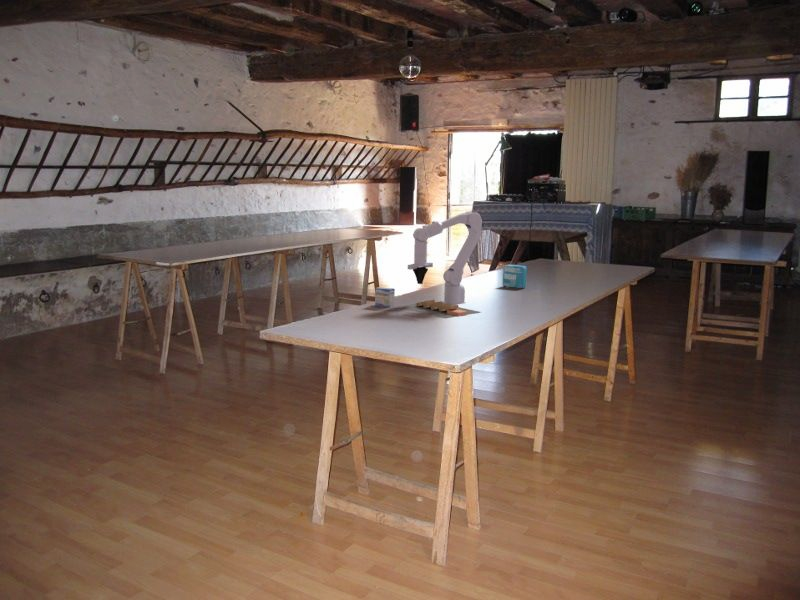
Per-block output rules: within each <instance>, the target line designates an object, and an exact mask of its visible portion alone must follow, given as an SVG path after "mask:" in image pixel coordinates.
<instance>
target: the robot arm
mask: <svg viewBox="0 0 800 600" xmlns="http://www.w3.org/2000/svg"><path fill="white" fill-rule="evenodd" d="M458 224H460V225H461V224H464V226H466V228H467V231H468V235H467V237H466V240H465V241H464V243H463V244H462V247H461V249H460V251H459V252H458V254H457V256H456V258H455V260H454V261H453V263H452V264H451V265H450V266H449V267H448V269H447V270H445V271H444V273H443V275H442V277H443V281H444V282H445V283H444V296H443V301H442V304H447V303H450V305H451V306H453V305H462V304H463V305H464V304H466V302H465V297H466V295H465V294H466V293H465V292H466V290H465V287H464V285H462V284H461V282H462V280H463V278H462V277H463V274H464V268H465V267H466V265H467V262H468V260H469V259H470V257H471V255H472V253H473V251H474V250H475V248H476V246H477V244H478V243H479V241H480V239H481V236H482V227H483V226H482V224H483V220H482V216H481V214H480V213H478V212H475V211H474V212H473V211H466V212H461V213H459V214H456V215H455V216H452V217H450V218H448V219H445V220H443V221H442V222H440V221H438V220H433V221H431V223H430V224H429V223H428V224H427V225H424V224H423V225H422V228H421V227H418V228H415V229H414V232H413V233H412V237H413V239H414V246H413V248H414V249H413V252H414V253H413V255H414V256H413V259H414V260H413V261H414V262H413V263H411V264H407V270H410V271H411V270H412V271H413V273H414V276H415V279H416V282H417V284H419V285H423V283H424V279H425V277H426V274H427V272H428V270H429V268H433V266H434V265H433V262H428V260H427V259H428V258H427V257H428V254H427V253H428V251H427V250H428V245H427V243H428V242H427V241H428V239H430V238H433V237H435V236H437V235H440V234H442V233H443V231H444V230H445V229H448V228H451V227H453V226H455V225H458Z"/></svg>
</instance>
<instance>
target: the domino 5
mask: <svg viewBox="0 0 800 600" xmlns="http://www.w3.org/2000/svg"><path fill="white" fill-rule="evenodd" d="M447 314H451V315H456V316H457V317H463V316H467V311H463V310H458V309H451V310H447Z"/></svg>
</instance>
